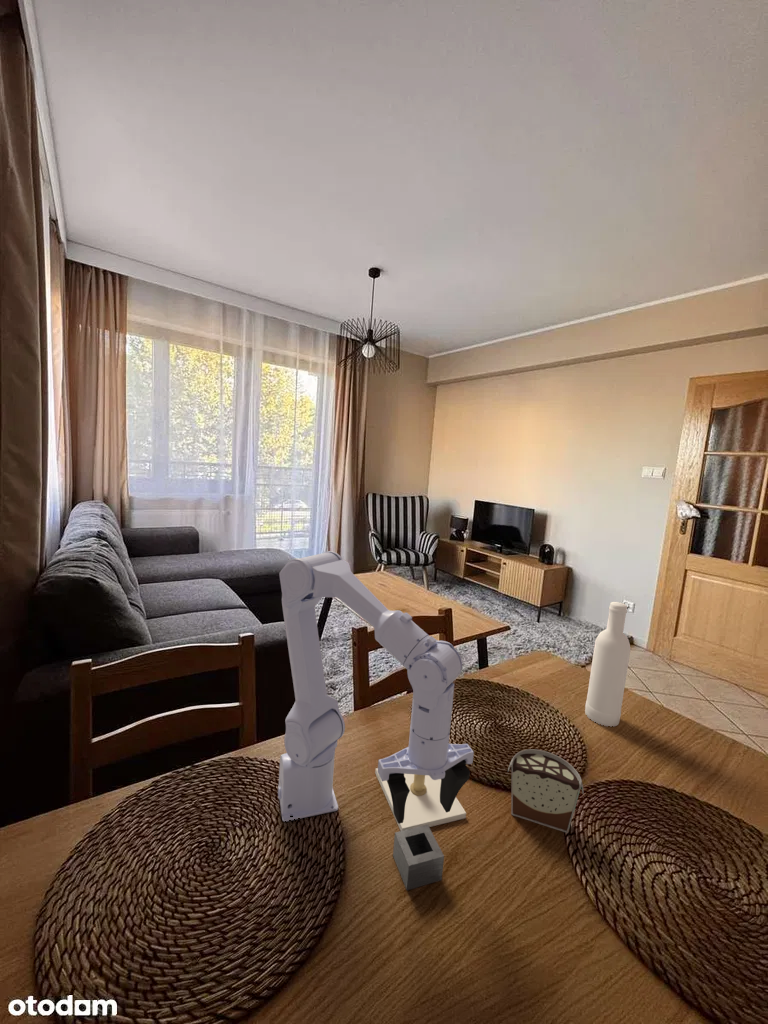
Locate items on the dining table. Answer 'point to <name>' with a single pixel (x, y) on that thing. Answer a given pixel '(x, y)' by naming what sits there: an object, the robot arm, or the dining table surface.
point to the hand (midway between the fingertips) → (422, 812)
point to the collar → (418, 857)
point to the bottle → (609, 670)
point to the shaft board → (423, 803)
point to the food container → (544, 788)
